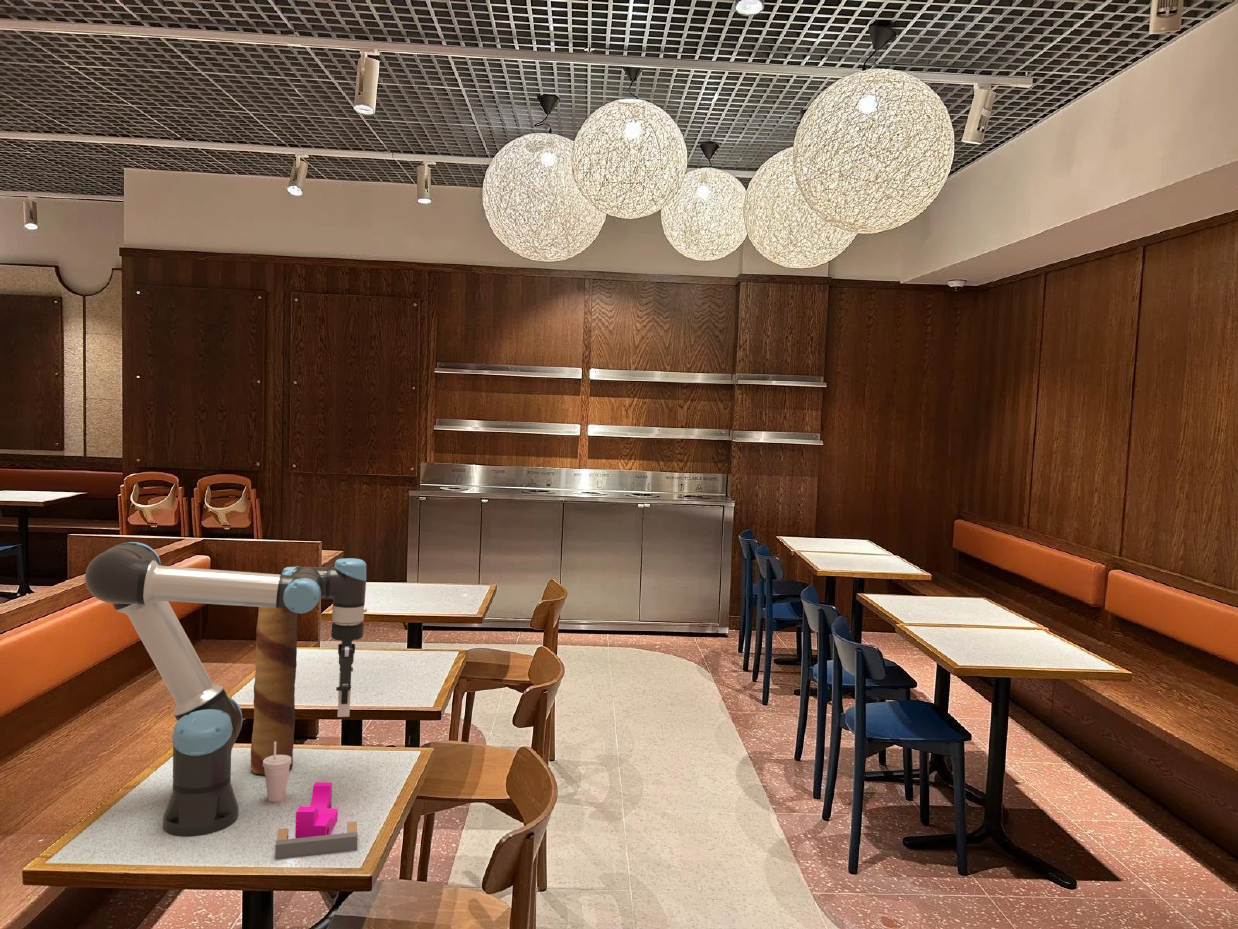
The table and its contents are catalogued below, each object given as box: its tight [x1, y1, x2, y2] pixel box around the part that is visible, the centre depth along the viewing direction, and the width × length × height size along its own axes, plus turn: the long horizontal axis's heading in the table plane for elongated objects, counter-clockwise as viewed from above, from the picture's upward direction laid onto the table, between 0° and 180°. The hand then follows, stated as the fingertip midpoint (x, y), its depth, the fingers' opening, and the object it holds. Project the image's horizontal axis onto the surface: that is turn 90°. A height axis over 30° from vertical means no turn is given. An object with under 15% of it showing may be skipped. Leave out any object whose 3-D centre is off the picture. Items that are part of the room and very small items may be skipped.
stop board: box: [274, 821, 358, 860], centre depth 180 cm, size 16×7×4 cm, turn 108°
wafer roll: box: [250, 607, 298, 776], centre depth 218 cm, size 10×11×45 cm
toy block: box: [294, 781, 339, 838], centre depth 189 cm, size 15×6×8 cm, turn 5°
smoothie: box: [263, 741, 292, 803], centre depth 202 cm, size 6×6×14 cm
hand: (343, 707), depth 210 cm, fingers open, 13 cm apart
